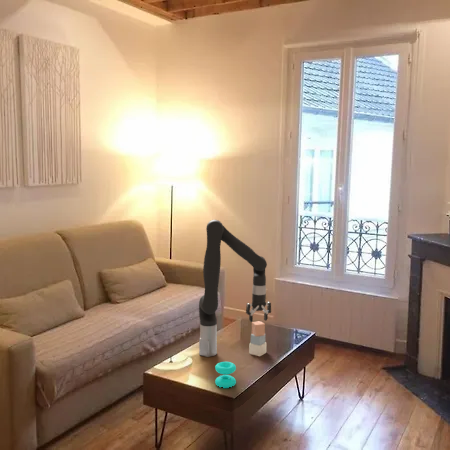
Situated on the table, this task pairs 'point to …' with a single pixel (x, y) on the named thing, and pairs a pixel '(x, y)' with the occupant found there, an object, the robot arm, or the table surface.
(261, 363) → the table surface
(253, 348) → the cream base block
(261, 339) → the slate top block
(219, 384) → the donuts
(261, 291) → the robot arm
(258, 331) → the terracotta block
